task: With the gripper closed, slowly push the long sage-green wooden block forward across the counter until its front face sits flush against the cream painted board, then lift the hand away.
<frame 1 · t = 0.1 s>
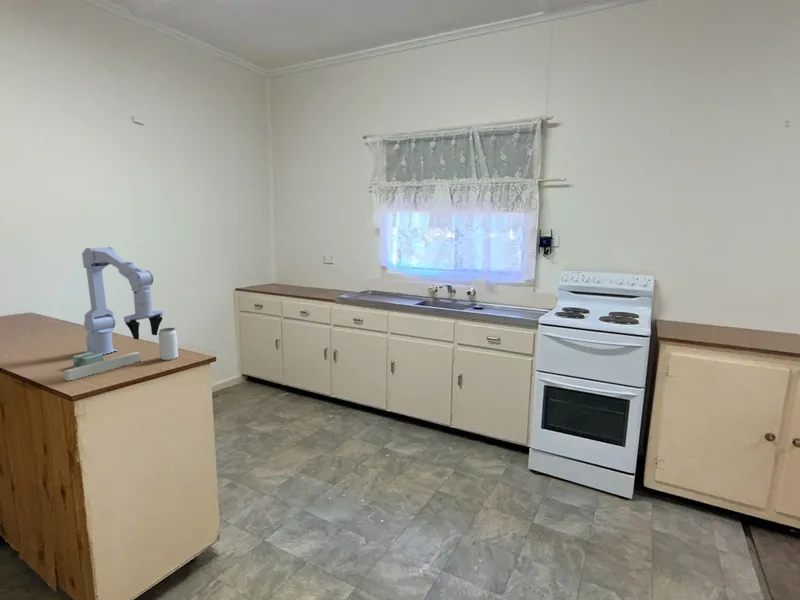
hand: (145, 336, 174), 10 cm above the worktop, tool pointing down, fingers open, 7 cm apart
can: (169, 358, 180), on the worktop
board: (105, 370, 164), on the worktop
block: (89, 367, 168), on the worktop
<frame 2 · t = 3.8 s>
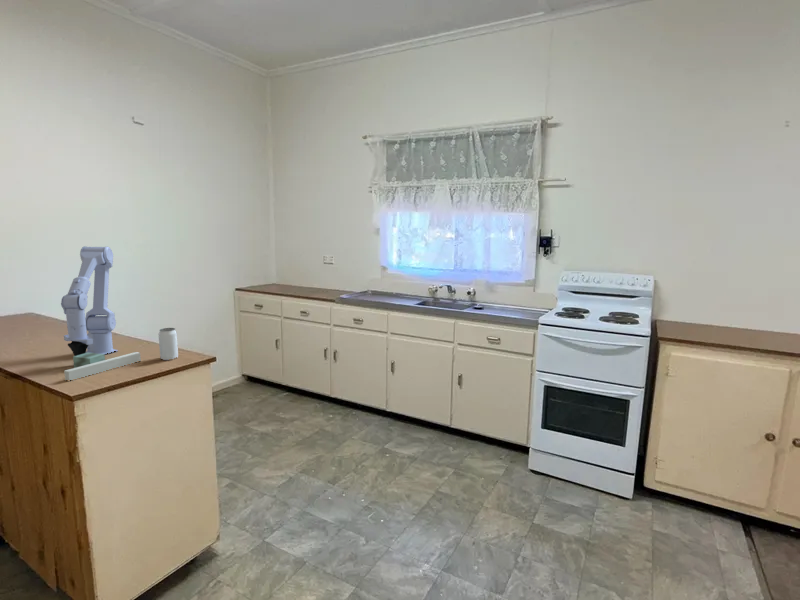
hand: (80, 360, 170), 2 cm above the worktop, tool pointing down, fingers closed
block: (90, 366, 168), on the worktop, touching gripper
everything else where it was.
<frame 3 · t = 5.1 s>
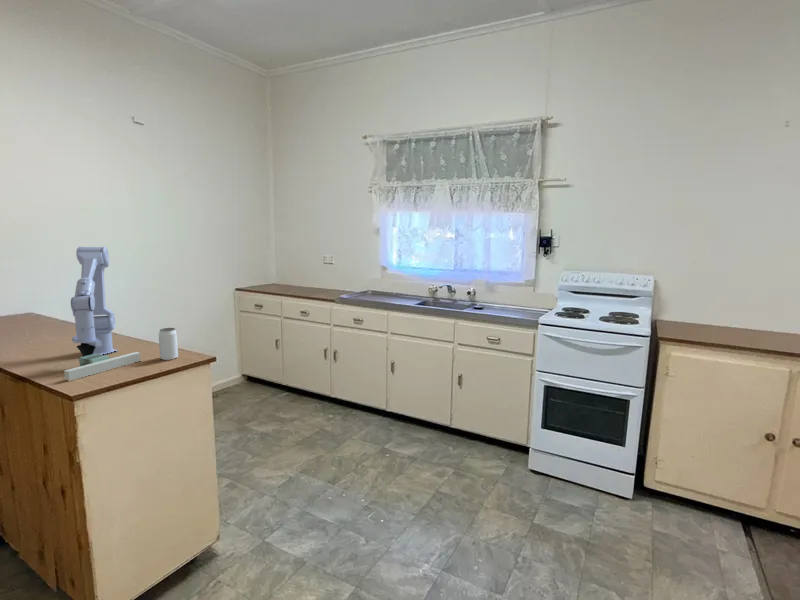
hand: (88, 362, 168), 2 cm above the worktop, tool pointing down, fingers closed, pressing on block
block: (95, 368, 166), on the worktop, touching board, gripper
everything else where it was.
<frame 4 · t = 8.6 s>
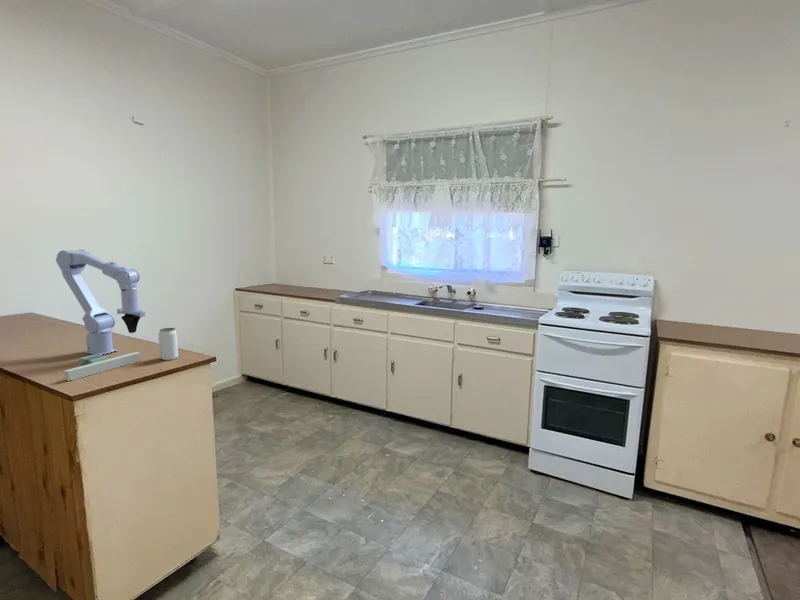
hand: (132, 332, 183), 9 cm above the worktop, tool pointing down, fingers closed
block: (95, 369, 166), on the worktop
everything else where it was.
at the end: block 0.6 cm from the target spot on the worktop beside the board, on the worktop; block tilted 0° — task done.
